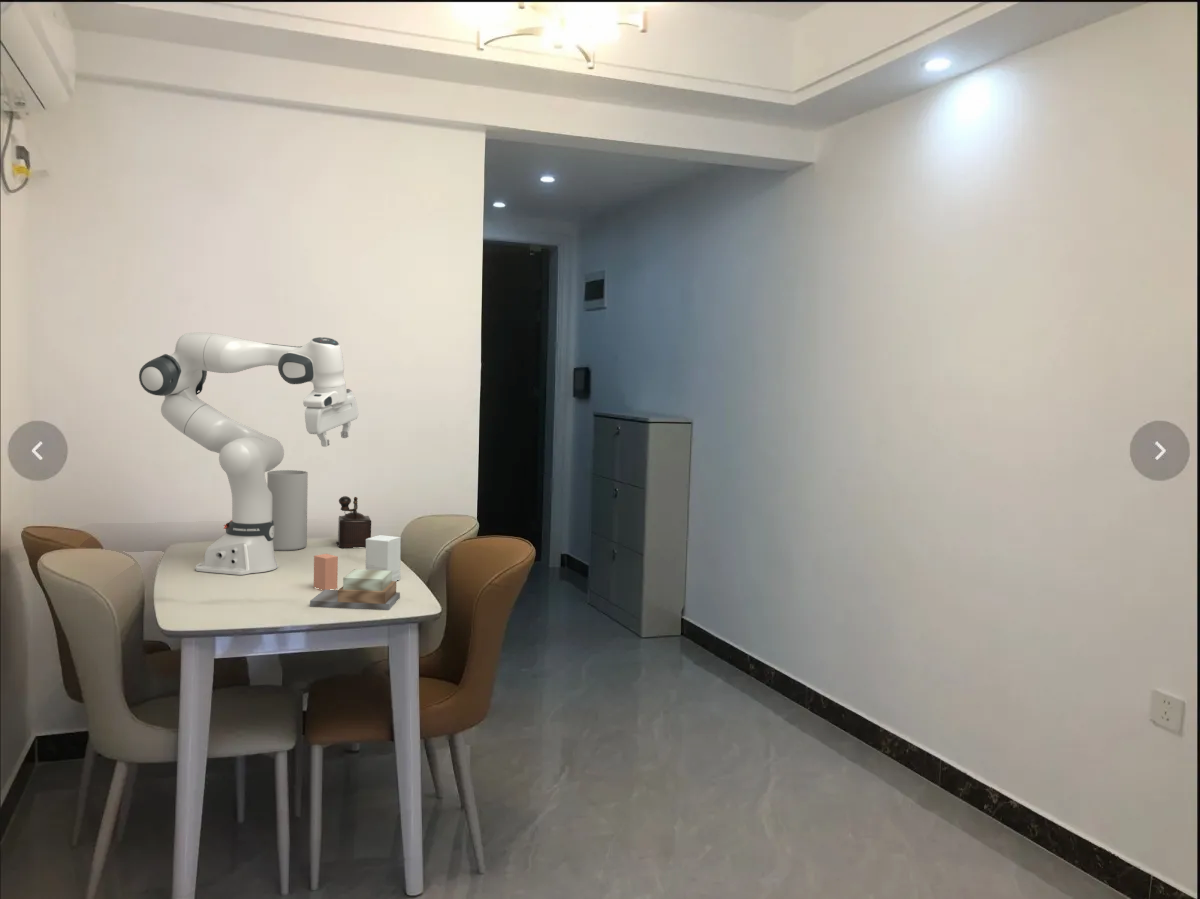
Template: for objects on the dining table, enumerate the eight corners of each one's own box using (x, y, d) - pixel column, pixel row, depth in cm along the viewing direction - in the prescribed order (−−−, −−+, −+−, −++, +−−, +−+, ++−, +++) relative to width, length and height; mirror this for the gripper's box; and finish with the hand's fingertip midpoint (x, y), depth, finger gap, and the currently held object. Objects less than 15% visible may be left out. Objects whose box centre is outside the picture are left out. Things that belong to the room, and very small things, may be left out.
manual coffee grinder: (335, 542, 311) (336, 490, 310) (368, 541, 315) (369, 490, 313) (337, 551, 296) (338, 497, 295) (372, 550, 300) (373, 497, 299)
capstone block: (325, 591, 245) (325, 558, 244) (313, 588, 248) (314, 555, 247) (337, 588, 248) (337, 556, 247) (325, 585, 251) (326, 553, 250)
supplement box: (401, 580, 261) (402, 536, 260) (386, 585, 254) (387, 540, 253) (378, 577, 263) (379, 534, 262) (364, 582, 256) (365, 538, 255)
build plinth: (309, 606, 229) (310, 577, 228) (324, 594, 241) (325, 567, 240) (388, 609, 229) (389, 580, 228) (399, 598, 241) (400, 570, 240)
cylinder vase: (284, 552, 291) (285, 475, 289) (258, 547, 298) (259, 472, 295) (314, 547, 302) (315, 472, 300) (288, 542, 308) (289, 469, 306)
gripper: (342, 386, 268) (347, 431, 272) (299, 402, 250) (304, 450, 254) (361, 388, 266) (365, 433, 270) (318, 403, 248) (323, 451, 252)
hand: (335, 441), depth 262 cm, fingers open, 8 cm apart
